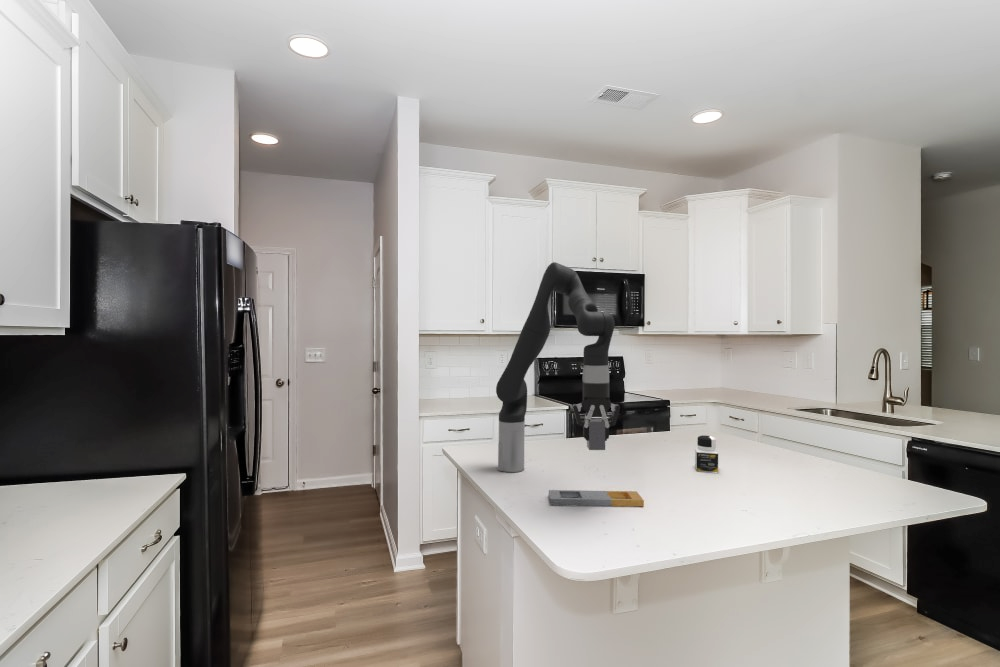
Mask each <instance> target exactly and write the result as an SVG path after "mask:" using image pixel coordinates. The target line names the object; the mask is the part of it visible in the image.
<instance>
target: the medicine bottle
mask: <svg viewBox="0 0 1000 667" xmlns="http://www.w3.org/2000/svg"><path fill="white" fill-rule="evenodd" d="M696 442H697V444H696V445H697V446H696V447H695V448H694V467H695V471H696V472H700V471H703V472H702V473H704V472H705V473H712V472H717V473H716V474H718V473H719V452H718V450H717V448H716V447H717V446H716V445H717V444H716V442H717V439H716V437H714V436H711V435H705V434H704V435H699V436H698V437H697V440H696Z"/></svg>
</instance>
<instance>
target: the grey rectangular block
mask: <svg viewBox="0 0 1000 667" xmlns="http://www.w3.org/2000/svg"><path fill="white" fill-rule="evenodd" d="M588 428H589V441H586V447H587V449H588V450H589V451H606V441H605V421H603V420H602V418H600V419H599V418H591V420H590V421H589V426H588Z"/></svg>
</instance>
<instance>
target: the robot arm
mask: <svg viewBox="0 0 1000 667" xmlns="http://www.w3.org/2000/svg"><path fill="white" fill-rule="evenodd" d="M552 292H555V293H557V294H560V295H564V296H566V297H568V300H567V303H568V308H569V309H570V311H571V312H572V314H573V316H574V317H575V320H576V326H577V331H578V332H579V333H580V335H582V336H584V337H598V339H597V340H596V342H595V343H592V344H591V343H590V344H587V345H585V346H584V347H583V368H582V378H581V379H582V399H581V402H580V403H577V404H575V403H574V404H572V405H571V406H572V407H571V408H572V410H573V414H574V417H575V421H576V424H577V425H578V426H581V427H582V430H583V431H582V432H583V434H582V437H583V439H585V442H587V441H589V428H588V426H589V421H590V420H591V419H592V417H599V418H600V419H602V420H603V421H605V442H607V440H608V439H609V438H610V428H611V427H612V426H613V427H614V426H616V424H617V422H618V417H619V415H620V410H621V406H620V405H619V404H618V403H617V404H615V403H613V402H612V401H611V400H610V368H609V351H610V350H609V349H610V345H611V341H612V337H613V334H614V330H615V319H614V317H613V315H612V314H611V313H610V312H608V311H598V310H599V309H598V307H597V305H596V303H595V301H594V300H593V299H591V297H590V296H589V294H588V293H587V291H586V290H585V288H584V285H583V283H582V281H581V278H580V276H579V275H578V273H577V271H575V270H574V269H573V268H570V267H568V266H565V265H563V264H561V263H558V262H555V261H553V262H551V263H550V264H549V265H548V266H547V267H546V269H545V271H544V273H543V276H542V279H541V281H540V284H539V288H538V289H537V293H536V296H535V298H534V301H533V304H532V306H531V309H530V311H529V314H528V316H527V318H526V320H525V321H524V324H523V327H522V329H521V330H520V333H519V336H518V339H517V341H516V343H515V346H514V348H513V351H512V354H511V356H510V359H509V361H508V363H507V364H506V367H505V368H504V371H503V372H502V374H501V376H500V377H499V380H498V381H497V384H496V387H495V393H496V396H497V399H499V400H500V402H502V406H501V409H500V411H499V413H498V444H497V445H498V446H497V447H498V448H497V449H498V450H497V459H498V460H497V466H498V467H497V470H498V472H505V473H519V472H522V471H524V470H525V427H526V426H525V419H526V418H525V417H526V414H527V407H528V405H527V404H528V384H527V382H526V380H525V377H526V375H527V372H528V370H529V368H530V367H531V365H533V363H534V362H535V361H536V359H537V358H538V356H539V355H540V354H541V352H542V350H543V348H544V346H545V344H546V342H547V340H548V339H549V336H550V335H549V334H550V332H551V322H550V313H549V302H550V298H551V295H552ZM610 408H611V411H612V412H611V413H612V414H611V418H610V420H608V416H607V412H608V411H609V409H610ZM581 409H583V410H584V411H585V415H584V420H582V418H581V414H580V412H581Z"/></svg>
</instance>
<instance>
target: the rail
mask: <svg viewBox="0 0 1000 667" xmlns="http://www.w3.org/2000/svg"><path fill="white" fill-rule="evenodd" d="M569 497H580V498H569ZM627 498H628V499H627ZM548 499H550V500H549V502H550V503H551V504H550V506H563V505H585V506H584V507H628V506H644V505H645V503H644V502H645V499H643V498H642V496H641V495H640V493H639V492H638V491H636V490H635V491H633V490H629V491H628V490H621V491H620V490H574V489H573V490H571V489H570V490H567V489H566V490H565V489H549V490H548ZM644 507H645V506H644Z"/></svg>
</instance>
